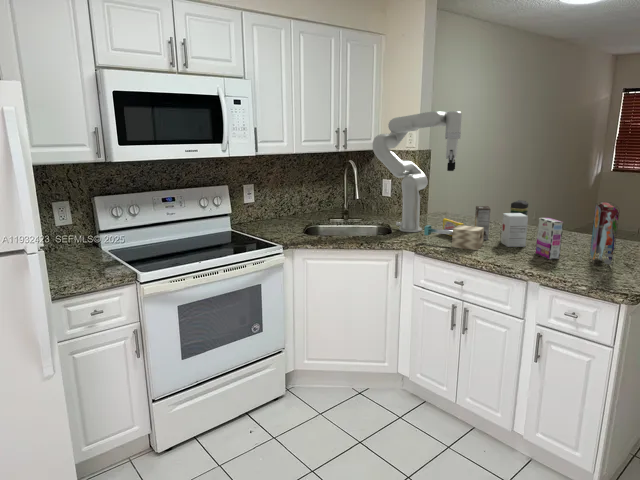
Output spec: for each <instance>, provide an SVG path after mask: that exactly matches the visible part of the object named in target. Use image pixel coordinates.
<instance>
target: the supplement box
mask: <svg viewBox="0 0 640 480" xmlns="http://www.w3.org/2000/svg"><path fill="white" fill-rule="evenodd" d="M528 221H529V216H528V215H527V216H526V215H524V214H522V213H510V212H505V213H504V212H503V213H502V221H501V223H502V224H501V225H502V226H501V236H500V238H501V239H500V243H501V244H503V245H504V246H506V247H507V248H512V247H513V248H517V247H518V248H519V247H520V248H521V247H523V248H524V247H526V244H527V234H528Z"/></svg>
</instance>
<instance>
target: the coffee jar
mask: <svg viewBox="0 0 640 480" xmlns="http://www.w3.org/2000/svg"><path fill="white" fill-rule="evenodd" d="M528 211H529V203H528V202H527V200H521V199H519V200H516V201H513V202H511V203H510V211H509V213H522V214H524V215H526V216H528Z"/></svg>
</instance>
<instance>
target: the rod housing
mask: <svg viewBox="0 0 640 480" xmlns="http://www.w3.org/2000/svg"><path fill="white" fill-rule="evenodd" d="M483 235H484V227H475V225H474V226H473V225H472V226H471V225H464V226H463V225H458V226H457V227H455V228H453V235H452V236H451V238H452V239H451V248H455V249H456V248H457V249H466V250H474V251H478V250H480V248H483V246H484V240H483Z"/></svg>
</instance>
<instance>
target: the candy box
mask: <svg viewBox="0 0 640 480" xmlns="http://www.w3.org/2000/svg"><path fill="white" fill-rule="evenodd" d="M458 225H463V226H465V224H464V223H463V222H459V221H455V220H452V219H449V218H443V219H442V230H451V231H453V228H455V227H457V226H458ZM446 235H447V236H449V237H452V235H450V234H446Z"/></svg>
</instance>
